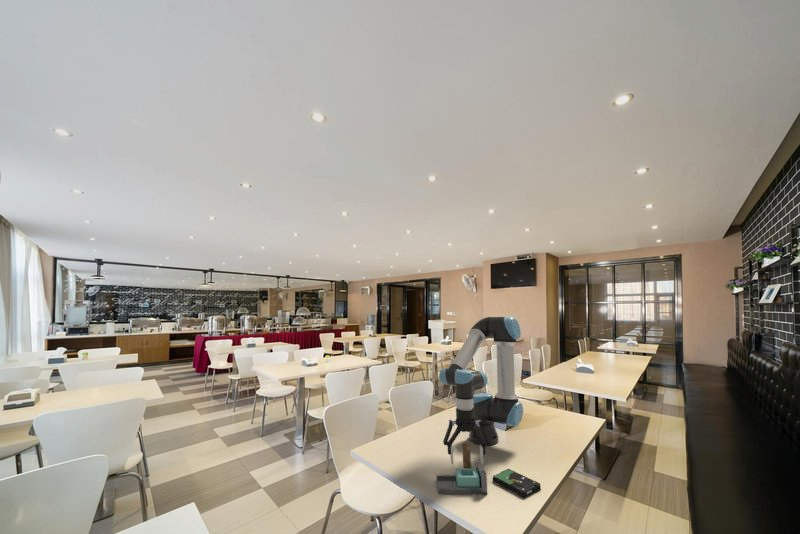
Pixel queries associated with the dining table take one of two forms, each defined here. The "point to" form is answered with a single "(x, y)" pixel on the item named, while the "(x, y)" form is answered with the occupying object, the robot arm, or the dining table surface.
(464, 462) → the dowel
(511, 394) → the robot arm
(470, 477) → the block
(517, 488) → the disk drive
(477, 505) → the dining table surface
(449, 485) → the rail base
